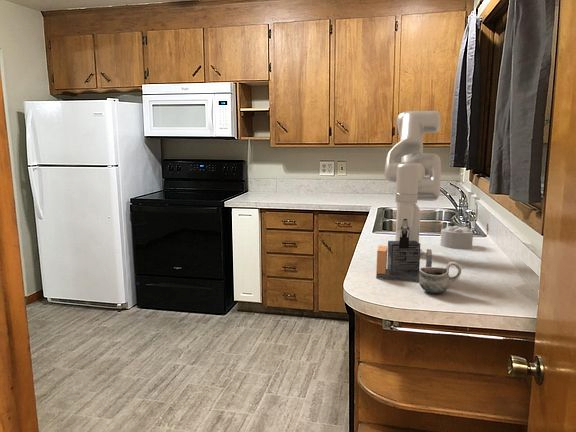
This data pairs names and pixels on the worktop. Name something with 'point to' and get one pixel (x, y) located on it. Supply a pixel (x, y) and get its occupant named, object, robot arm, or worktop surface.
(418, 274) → the grey bent bar
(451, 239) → the beige piece
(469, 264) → the worktop surface
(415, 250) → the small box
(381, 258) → the vise slide jaw
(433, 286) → the mug
